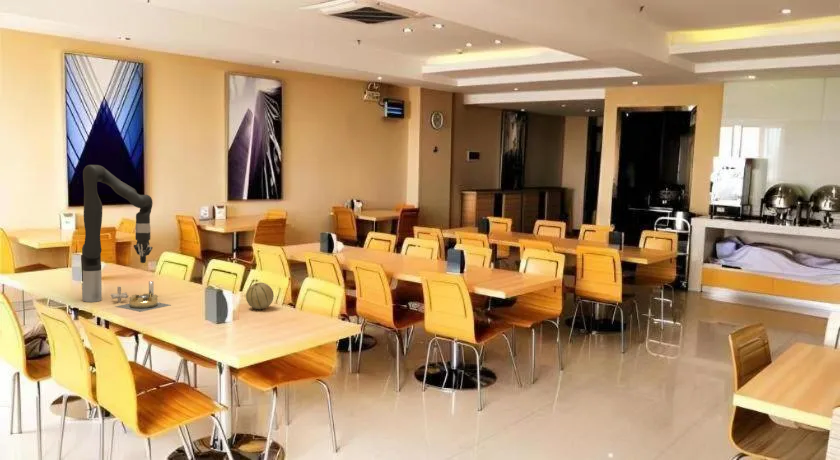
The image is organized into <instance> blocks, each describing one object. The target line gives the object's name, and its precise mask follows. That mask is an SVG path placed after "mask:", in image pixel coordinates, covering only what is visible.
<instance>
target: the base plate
mask: <svg viewBox="0 0 840 460" xmlns="http://www.w3.org/2000/svg"><path fill="white" fill-rule="evenodd" d="M169 306H172V305H171V304H168V303H162V302H159V301H158V305H157V306H155V307H150V308H132V307H130V306H129V303H125V304H120V305H115V306H114V307H115V308H120V309H126V310H130V311H134V312H139V313H141V312H142V313H144V312H147V311H152V310H156V309H160V308H166V307H169Z"/></svg>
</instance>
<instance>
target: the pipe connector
mask: <svg viewBox="0 0 840 460" xmlns="http://www.w3.org/2000/svg"><path fill="white" fill-rule="evenodd" d="M110 297H111V300H114V299H117V303H121V302H122V299H128V298H129V295H128V293H127V292H122V286H121V285H120V286H117V292H116V293H110Z"/></svg>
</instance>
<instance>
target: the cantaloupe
mask: <svg viewBox="0 0 840 460" xmlns="http://www.w3.org/2000/svg"><path fill="white" fill-rule="evenodd" d="M274 295H275V294H274V291H273V288H272V287H271V286H270V285H269V284H267V283H265V282H255V283H254V284H252V285H250V286H249V287H248V289H247V291H246V293H245V298H246V299H245V300H246V302H247V304H248V305H249V307H251V308H252V309H254V310H263V309H266V308H268V307H270V306H271V304H272V303H273V300H274Z"/></svg>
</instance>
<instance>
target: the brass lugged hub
mask: <svg viewBox="0 0 840 460" xmlns="http://www.w3.org/2000/svg"><path fill="white" fill-rule="evenodd" d="M154 284H155V283H154V280H152V281H151V280H150V281H148V293H143V294H132V295H131V296H130V297H129V300H128V301H129V303H128V304H129V306H130V307H132V308H150V307H155V306H157V305H158V302H159V300H158V294H154V293H155V292H154V290H155V289H154Z"/></svg>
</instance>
